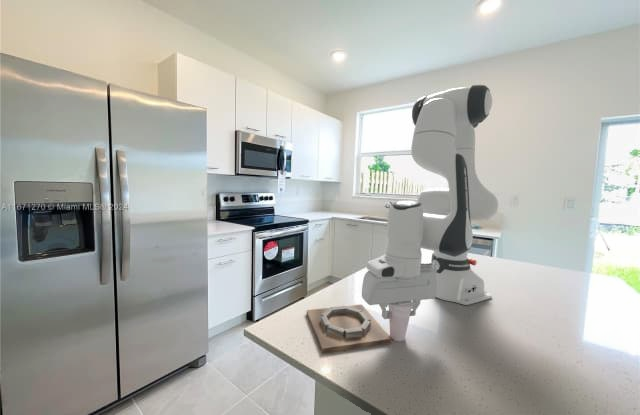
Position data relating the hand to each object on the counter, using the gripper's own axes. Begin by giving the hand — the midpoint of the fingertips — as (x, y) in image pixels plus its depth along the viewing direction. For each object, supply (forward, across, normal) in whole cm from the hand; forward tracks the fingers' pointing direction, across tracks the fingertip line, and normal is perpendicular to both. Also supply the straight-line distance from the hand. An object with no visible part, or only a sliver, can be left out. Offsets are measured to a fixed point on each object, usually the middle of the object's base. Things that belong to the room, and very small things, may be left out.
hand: (398, 316), depth 66 cm
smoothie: (+6, 0, 0) cm, 6 cm away
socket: (+6, +12, -7) cm, 15 cm away
